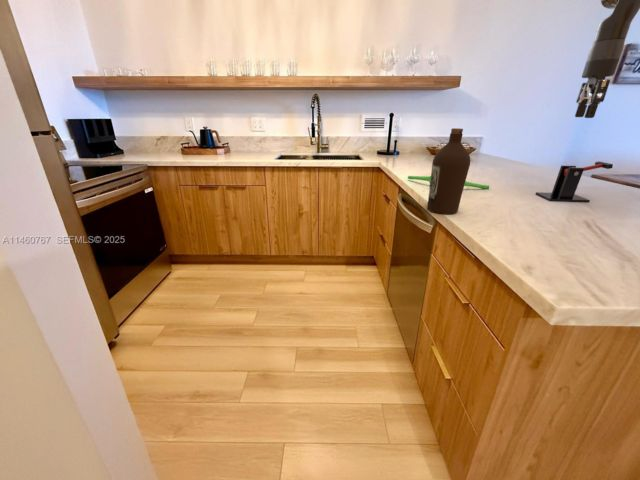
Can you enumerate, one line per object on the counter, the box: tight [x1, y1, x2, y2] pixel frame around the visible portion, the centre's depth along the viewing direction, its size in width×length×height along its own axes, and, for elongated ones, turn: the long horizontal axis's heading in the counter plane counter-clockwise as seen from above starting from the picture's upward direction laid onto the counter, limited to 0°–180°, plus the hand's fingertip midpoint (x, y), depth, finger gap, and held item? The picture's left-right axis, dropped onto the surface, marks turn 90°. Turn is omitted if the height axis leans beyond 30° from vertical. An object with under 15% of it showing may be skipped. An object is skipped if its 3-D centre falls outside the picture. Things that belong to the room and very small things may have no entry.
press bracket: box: [534, 165, 591, 204], centre depth 103 cm, size 13×9×12 cm
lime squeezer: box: [407, 175, 490, 190], centre depth 121 cm, size 34×12×6 cm, turn 59°
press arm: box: [564, 161, 613, 176], centre depth 100 cm, size 12×6×2 cm, turn 83°
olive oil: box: [426, 127, 471, 215], centre depth 89 cm, size 11×11×25 cm
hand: (583, 117), depth 93 cm, fingers open, 8 cm apart
